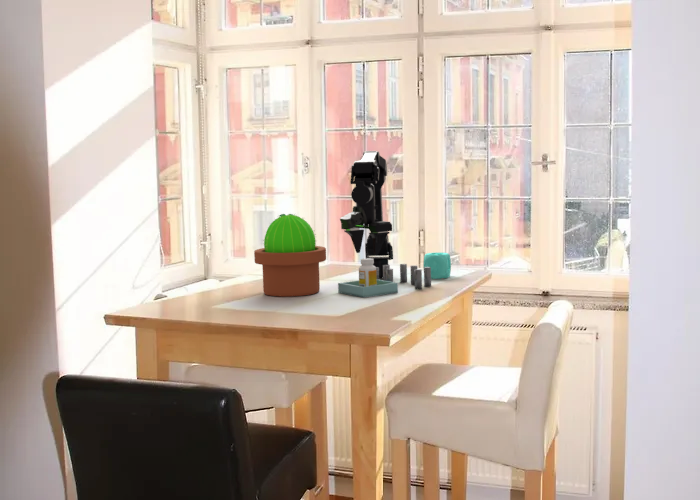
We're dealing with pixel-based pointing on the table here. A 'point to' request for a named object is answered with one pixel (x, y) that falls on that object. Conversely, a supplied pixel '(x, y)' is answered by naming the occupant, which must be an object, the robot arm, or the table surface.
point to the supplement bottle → (367, 273)
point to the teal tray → (368, 288)
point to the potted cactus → (290, 258)
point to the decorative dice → (438, 264)
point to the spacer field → (415, 275)
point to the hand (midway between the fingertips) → (366, 253)
